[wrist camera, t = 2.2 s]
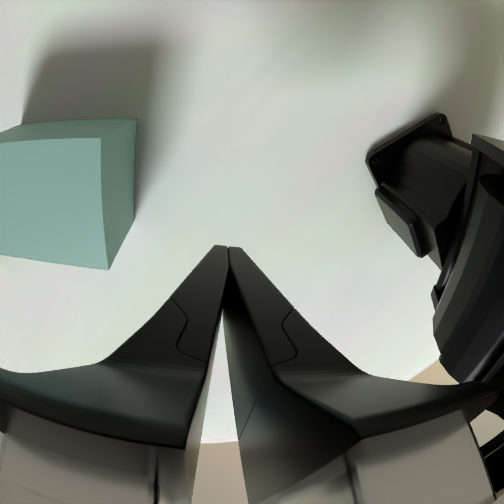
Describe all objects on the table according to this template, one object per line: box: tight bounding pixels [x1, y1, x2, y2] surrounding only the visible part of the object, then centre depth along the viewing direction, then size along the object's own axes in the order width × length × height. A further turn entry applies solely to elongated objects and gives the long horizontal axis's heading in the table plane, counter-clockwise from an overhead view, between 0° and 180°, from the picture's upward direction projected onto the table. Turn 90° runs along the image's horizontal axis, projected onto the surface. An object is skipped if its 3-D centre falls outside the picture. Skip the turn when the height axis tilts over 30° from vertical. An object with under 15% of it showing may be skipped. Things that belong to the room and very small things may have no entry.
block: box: [0, 119, 137, 270], centre depth 12 cm, size 8×6×5 cm
